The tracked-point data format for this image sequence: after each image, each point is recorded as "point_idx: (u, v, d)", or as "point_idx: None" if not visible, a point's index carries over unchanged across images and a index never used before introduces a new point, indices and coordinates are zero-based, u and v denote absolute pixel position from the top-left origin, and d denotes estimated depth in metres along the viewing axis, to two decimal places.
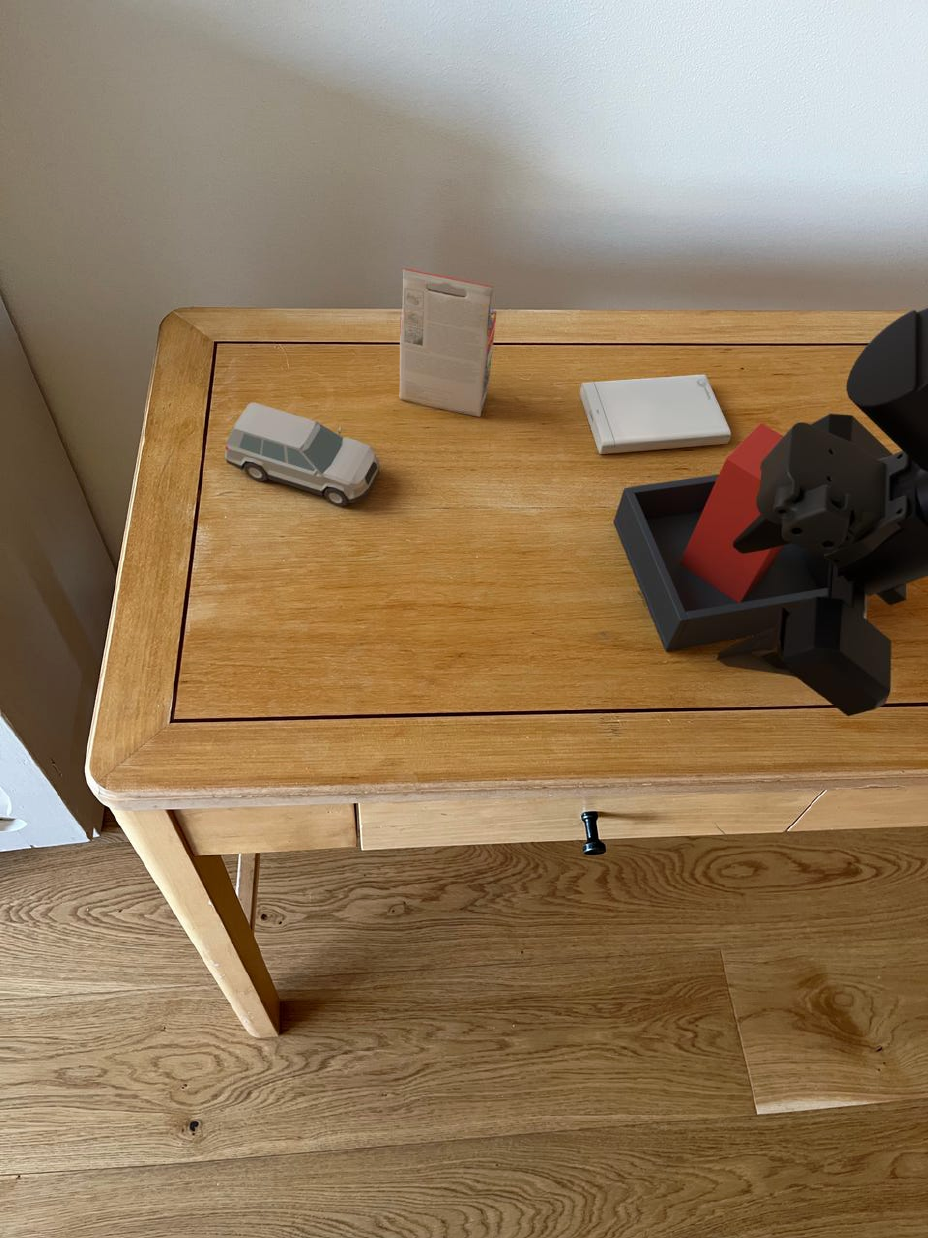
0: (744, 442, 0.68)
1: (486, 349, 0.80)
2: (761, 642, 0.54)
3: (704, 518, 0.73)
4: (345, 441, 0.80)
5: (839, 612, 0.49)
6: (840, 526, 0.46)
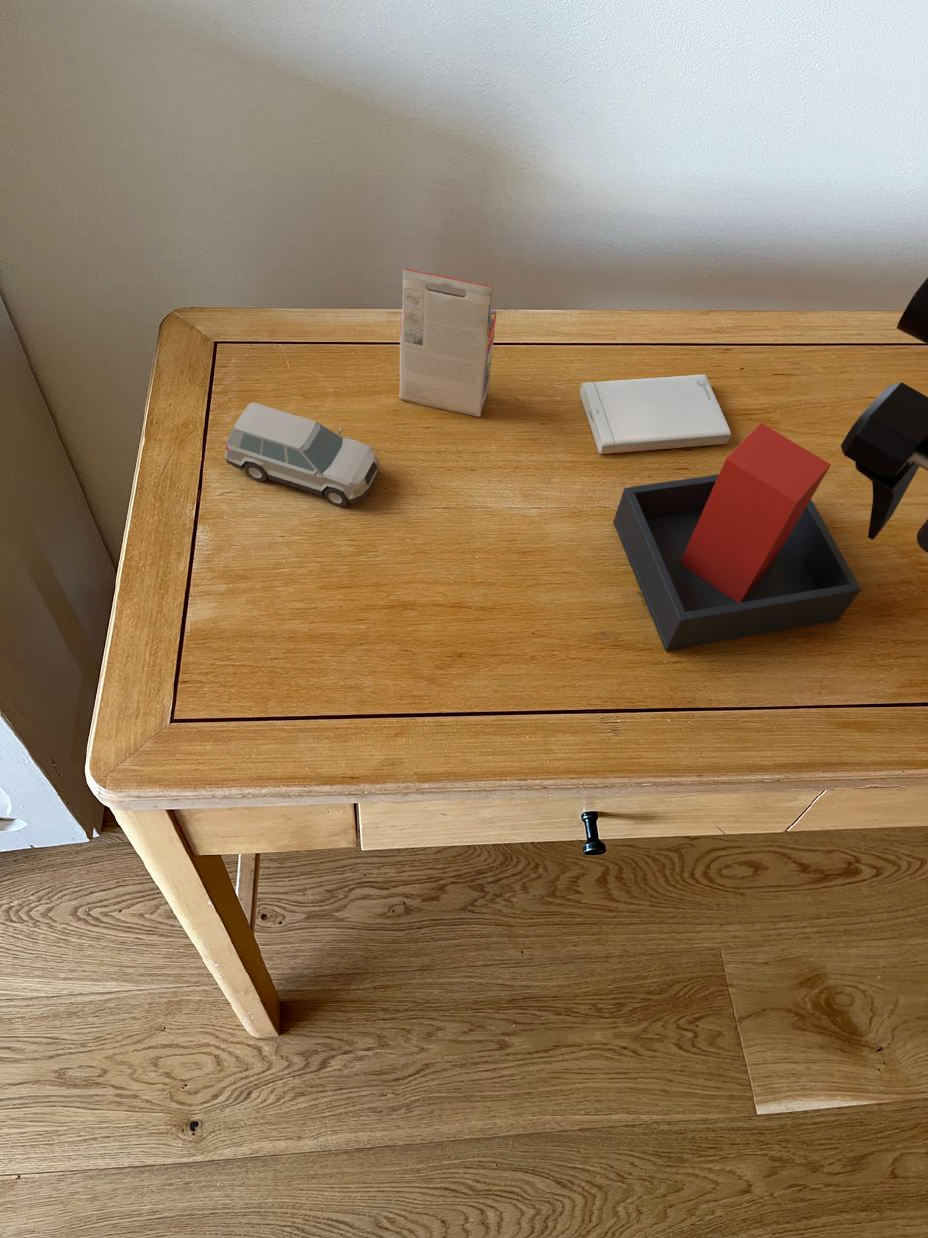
0: (744, 442, 0.68)
1: (486, 349, 0.80)
2: None
3: (704, 518, 0.73)
4: (345, 441, 0.80)
5: None
6: None
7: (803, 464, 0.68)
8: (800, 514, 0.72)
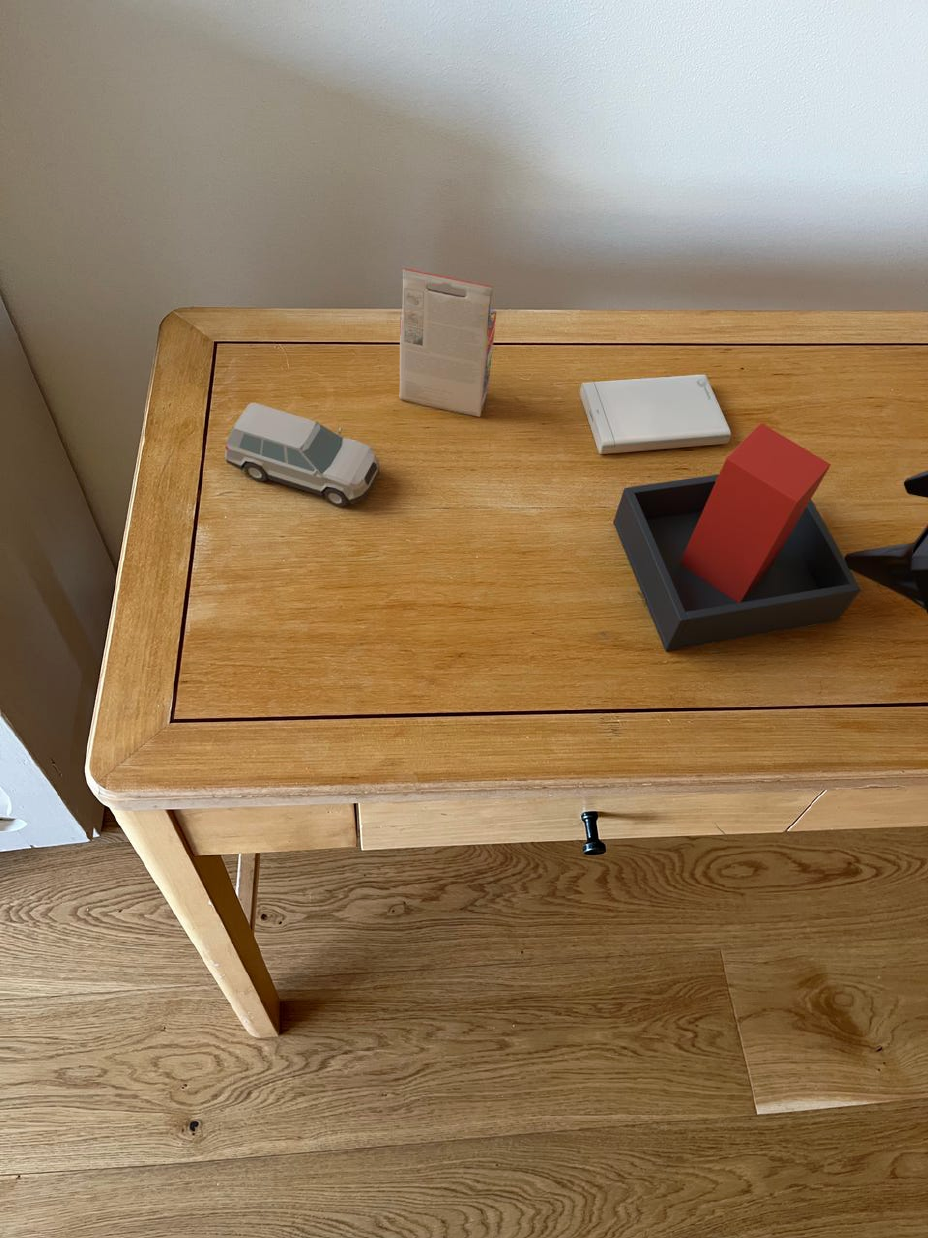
0: (744, 442, 0.68)
1: (486, 349, 0.80)
2: (893, 551, 0.59)
3: (704, 518, 0.73)
4: (345, 441, 0.80)
5: None
6: None
7: (803, 464, 0.68)
8: (800, 514, 0.72)
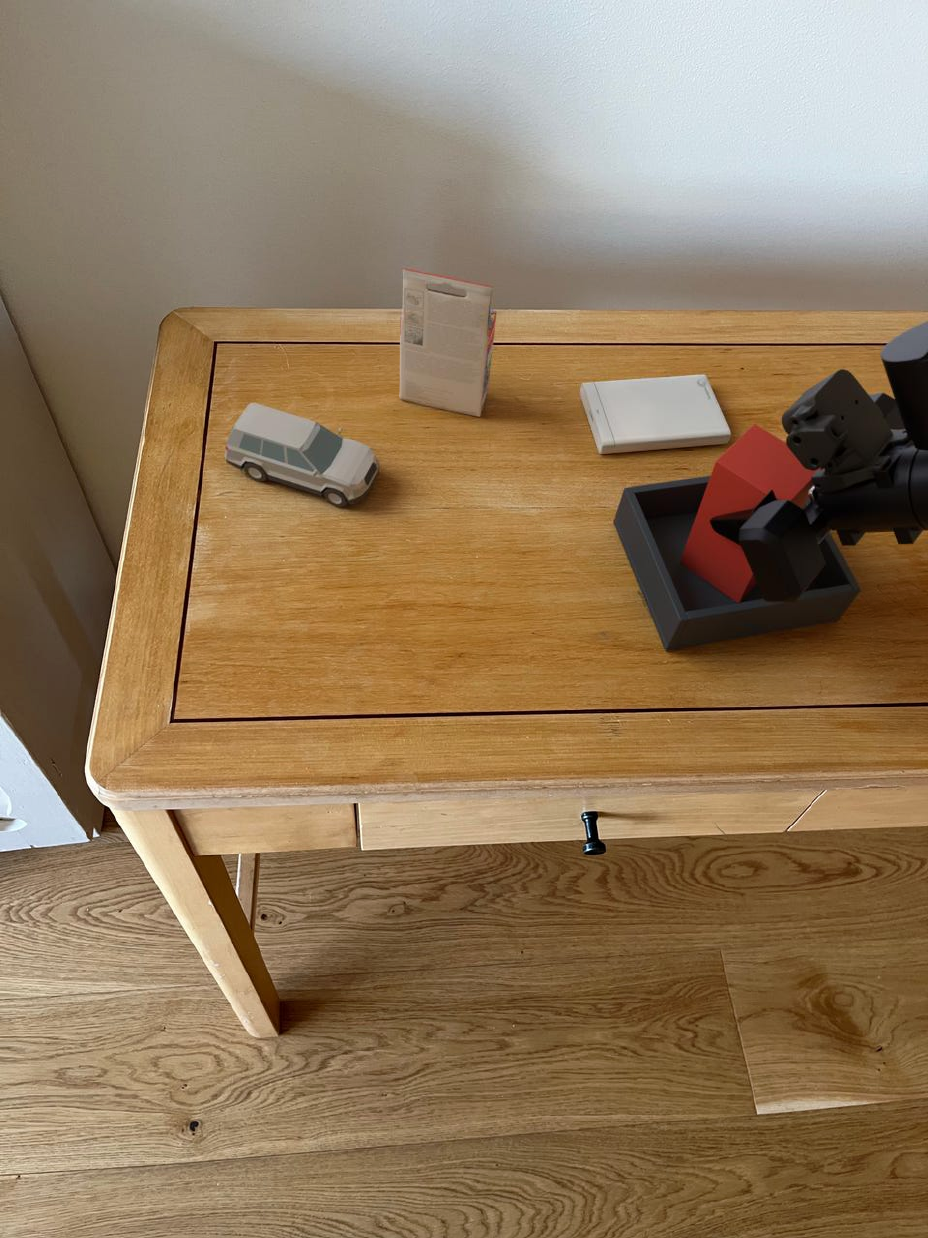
0: (735, 444, 0.68)
1: (486, 349, 0.80)
2: (745, 514, 0.67)
3: (699, 519, 0.73)
4: (345, 442, 0.79)
5: (797, 517, 0.61)
6: (828, 449, 0.59)
7: (795, 466, 0.67)
8: None
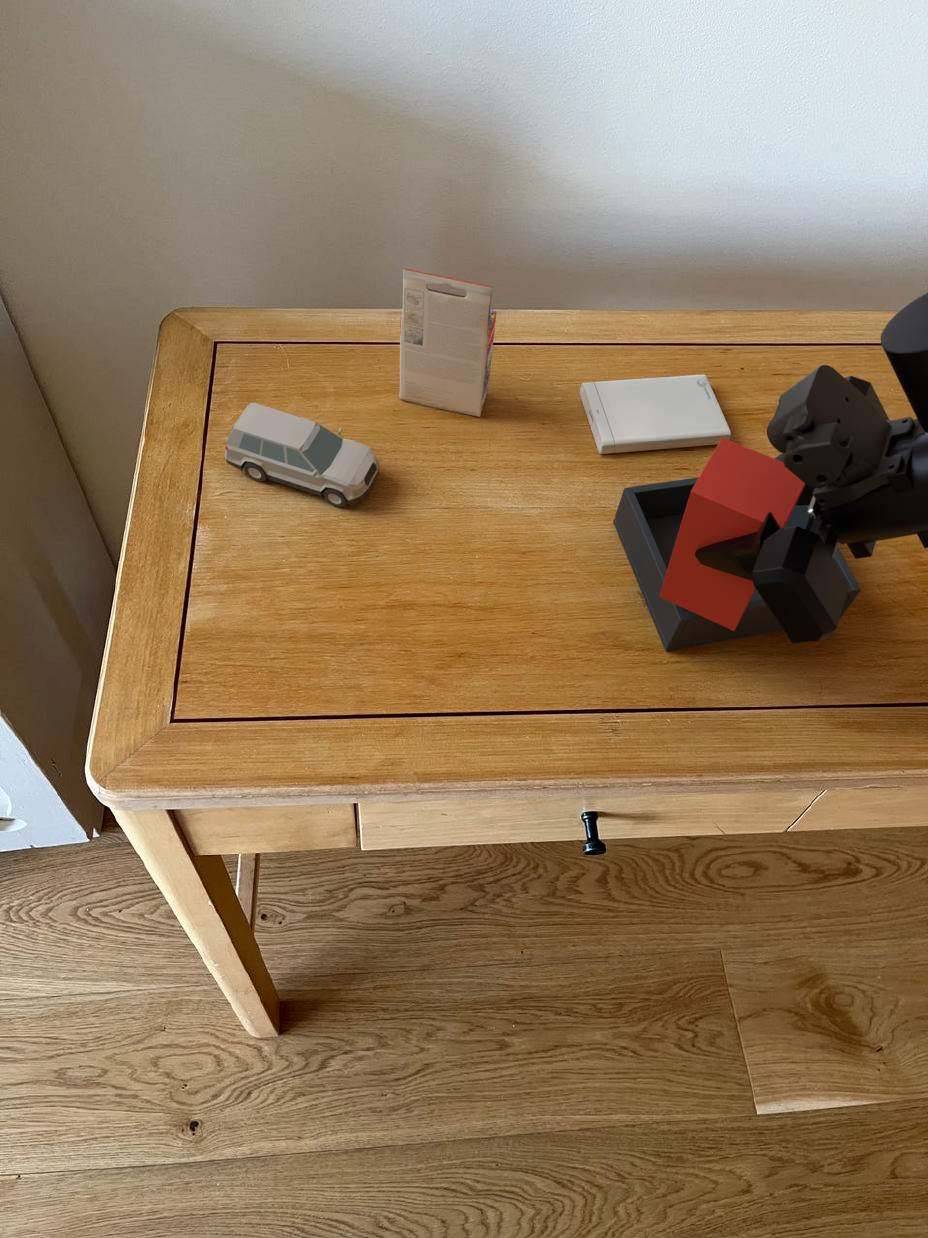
0: (708, 466, 0.59)
1: (486, 349, 0.80)
2: (740, 543, 0.58)
3: (678, 551, 0.64)
4: (345, 442, 0.79)
5: (813, 544, 0.53)
6: (838, 463, 0.50)
7: (779, 480, 0.58)
8: (784, 527, 0.63)
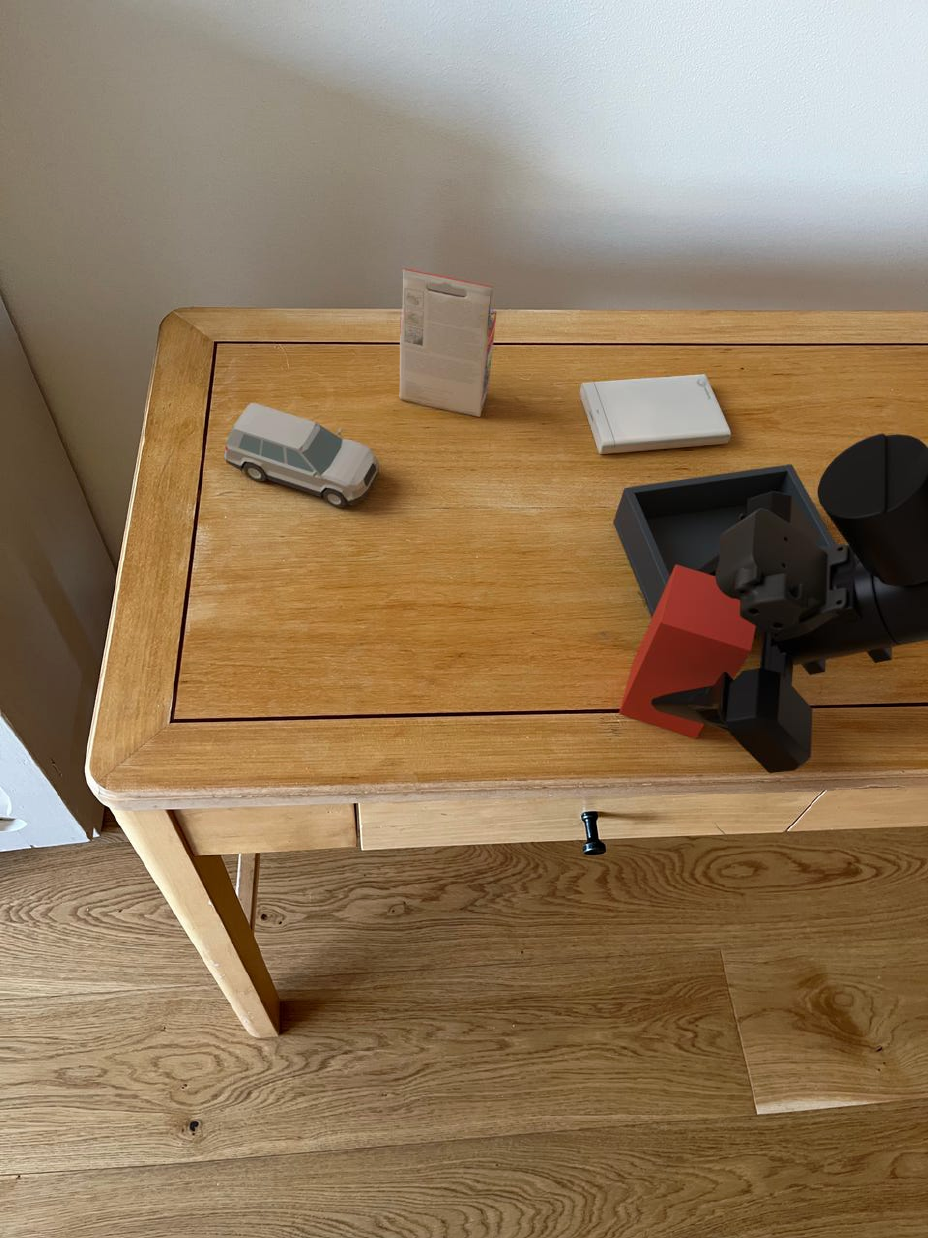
0: (669, 595, 0.61)
1: (486, 349, 0.80)
2: (698, 697, 0.59)
3: (642, 674, 0.65)
4: (345, 442, 0.79)
5: (778, 685, 0.54)
6: (793, 613, 0.52)
7: (737, 601, 0.61)
8: None
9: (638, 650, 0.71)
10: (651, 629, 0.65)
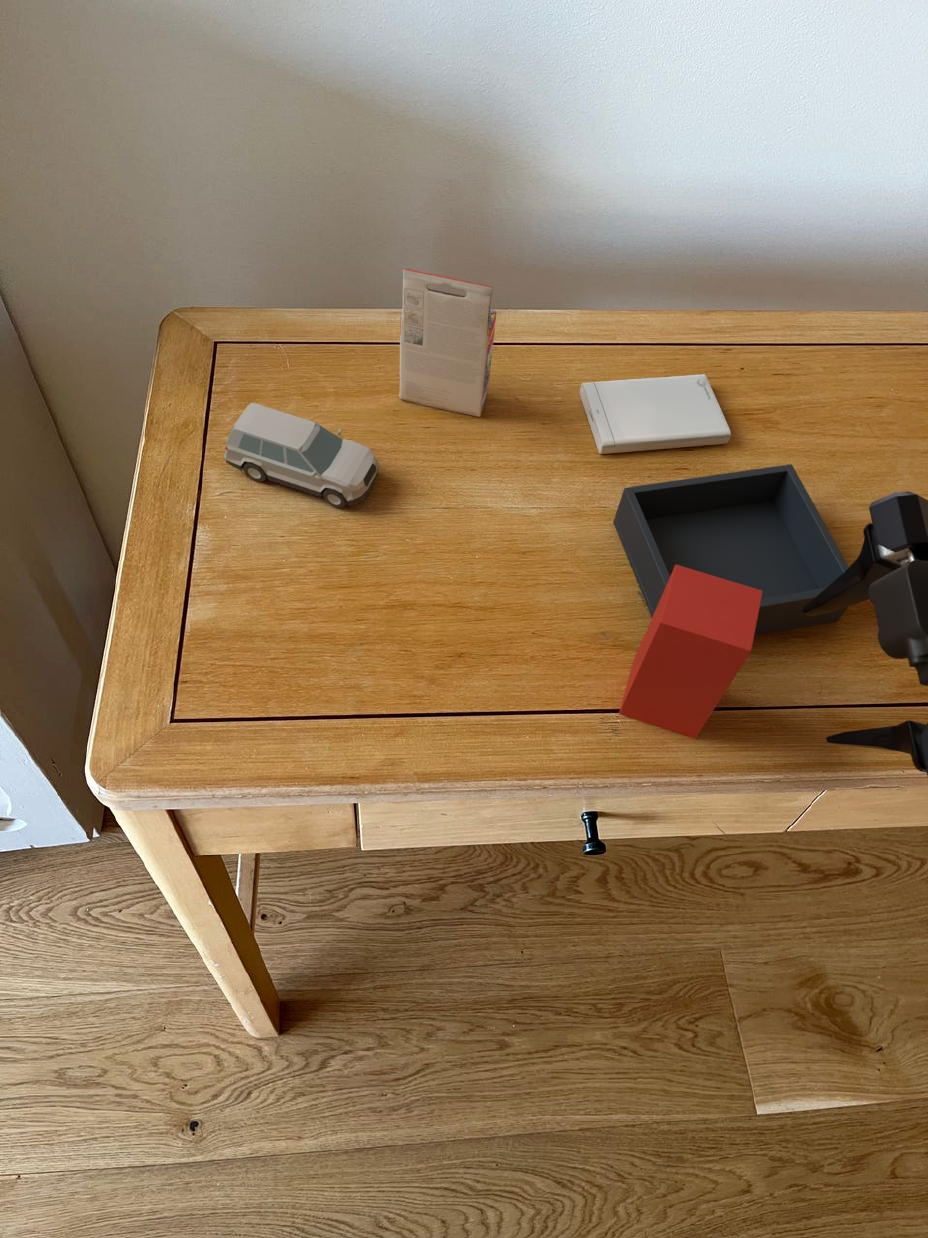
0: (669, 595, 0.61)
1: (486, 349, 0.80)
2: (881, 740, 0.58)
3: (642, 674, 0.65)
4: (344, 443, 0.79)
5: None
6: None
7: (737, 601, 0.61)
8: None
9: (638, 650, 0.71)
10: (651, 629, 0.65)
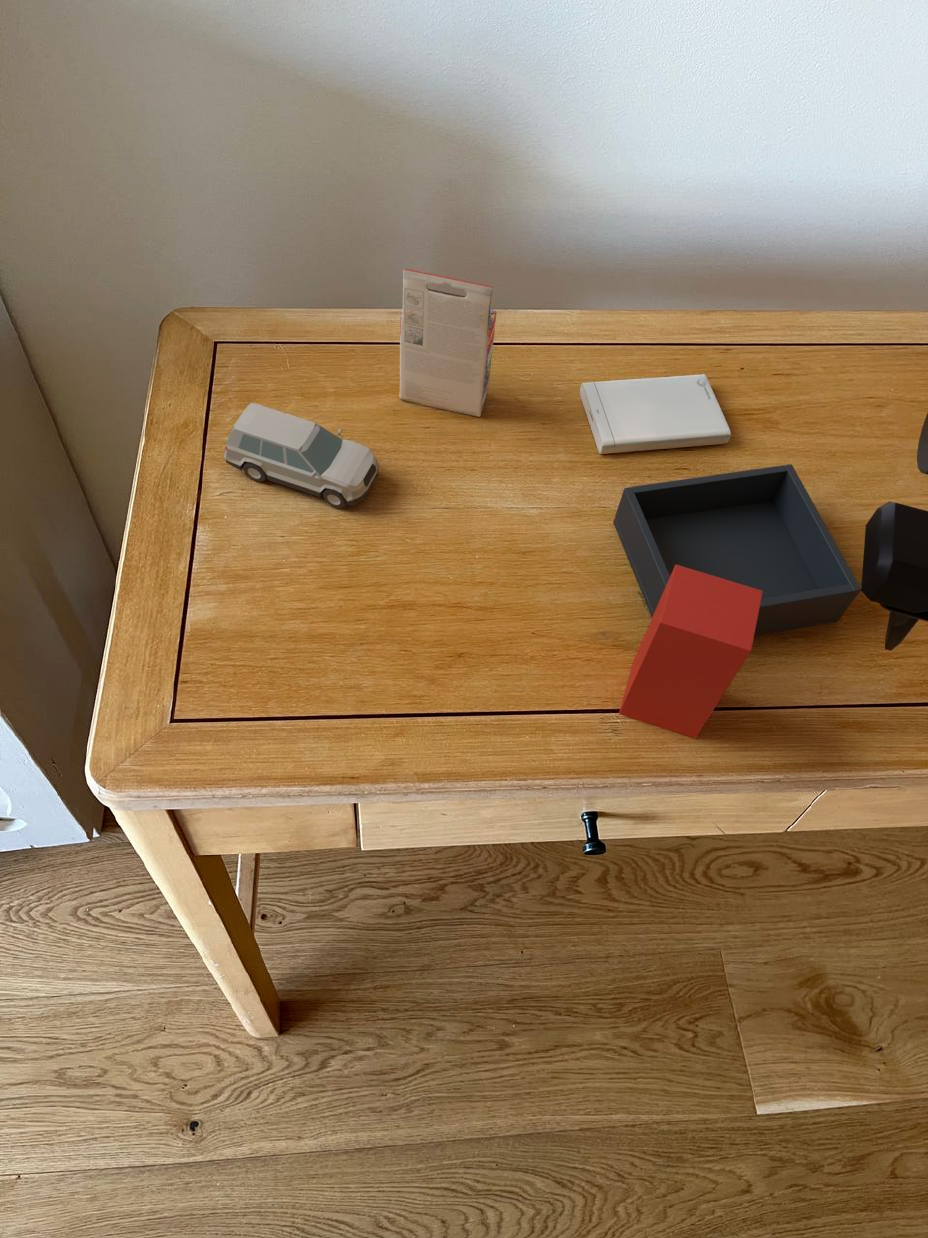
0: (669, 595, 0.61)
1: (486, 349, 0.80)
2: None
3: (642, 674, 0.65)
4: (344, 443, 0.79)
5: None
6: None
7: (737, 601, 0.61)
8: None
9: (638, 650, 0.71)
10: (651, 629, 0.65)
